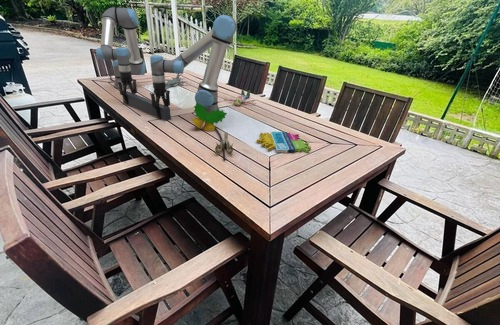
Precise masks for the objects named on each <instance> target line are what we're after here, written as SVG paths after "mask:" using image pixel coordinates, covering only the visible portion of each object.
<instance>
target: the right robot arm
mask: <svg viewBox="0 0 500 325" xmlns="http://www.w3.org/2000/svg"><path fill="white" fill-rule="evenodd" d="M236 32H237V23H236V20H235V19H234V17H232V16H230V15H227V14H221V15H219V16H217V17H216V18H215V19H214V21H213V24H212V28H211V30H210V31H209V32H207V33H205V35H203V36H202V37H201V38H199V39H198V40H197V41H196V42H194V43H193V44H192V45H191V46H189V47H188V48H187V49H186V50H184V51H183V52H181V54H179V55H178V56H176V57H174V59H164V56H162V55H159V54H153V55H150V57H149V61H150V63H149V64H150V70H151V79H152V88H153V91H152V92H150V93H149V95H150V100H152V107H153V108H155V109H156V113H157V117H158V118H157V117H156V118H157V119H160V120H162V119H161V114H160V109H159V103H160V101H161V100H162V103H163V105H165V106H167V107H170V105H171V96H170V92H171V91H170V90H169V89H165V88H166V85H165V84H166V81H165V79H166V75H165V74H176V75H177V74H179V75H180V74H183V73H184V71H185V68H186V67H187V66H189V64H191V63H192V62H193V61H195V60H196V59H198V58H199V57H201V56H202V55H203V54H205V53H206V52H207V51H208V50H209V49H210V50H209V51H210V52H209V55H208V58H207V63H206V66H205V70H204V74H203V78H202V80H201V81H200V82H199V84H198V87H197V90H196V92H195V94H194V101H195V103H196V102H197V103H198V104H201V106H204V109H206V112H208V113H211V112H212V110H214V111H216V110H217V109H219V111H221V110H220V108H219V102H218V99H219V98H218V97H219V90H218V89H219V85H218V80H219V76H220V73H221V70H222V66H223V62H224V59H225V56H226V52H227V49H228V47H229V46H231V44H232V42H233V39H234V38H233V37H234V35H235V33H236ZM208 113H207V115H208ZM214 131H216V133H217V134H218V135H219V139H220V141H222V140H223V137H222V134H221V133H220V131H219V130H218V128H217V126H215V130H214ZM225 152H226V151H225V149H223V151H222V157H223V161H226V153H225Z"/></svg>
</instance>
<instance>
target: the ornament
mask: <svg viewBox="0 0 500 325" xmlns="http://www.w3.org/2000/svg"><path fill="white" fill-rule="evenodd" d="M219 110H220V108H219V109H217V110H216V111H214V110H212V112H211V113H208V112H206V109H204V106H201V104H198V103H197V102H196V101H195V105H194V106H193V112H194V113H195V118H192V119H191V122H192V123H193V125H195V127H197V128H198V129H202V130H203V131H206V132H212V131H213V132H214V131H216V130H215V127H216V126H215V124H218V123H219V122H223V119H226V115H227V114H228V113H227V112H224V110H223V109H221V110H220V111H219ZM207 113H208V115H207ZM214 123H215V124H214Z"/></svg>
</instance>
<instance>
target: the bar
mask: <svg viewBox="0 0 500 325" xmlns="http://www.w3.org/2000/svg"><path fill="white" fill-rule="evenodd" d="M121 96H122V95H121ZM126 96H127V98H128V104H129V105H128V106H129V107H132V108H134V109H136V110H138V111H141V112H143V113H146V114H147V115H150V116H152V117H155V118H157V119H159V118H158V117H157V113H156V109H155V108H153V107H152V100H151V99H149V98H147V97H144V96H142V95H138V94H137V93H136V94H133V93H132V92H131V91H127V90H126ZM122 101H123V104H125V105H127V104H126V102H125V100H124V97H123V96H122ZM159 109H160V114H161V119H160V120H162V121H165V122H166V121H170V120H172V118H171V107H170V106H169V107H167V106H165V105H164V104H162V103H160V102H159Z"/></svg>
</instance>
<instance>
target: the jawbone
mask: <svg viewBox="0 0 500 325" xmlns="http://www.w3.org/2000/svg"><path fill="white" fill-rule="evenodd" d="M223 135H224V136H223V139H222V141H221V140H220V141H221V142H220V144H218V142H215V144H216V146H215V148H214V149H215V152H214V154H215V155H217V156H218V155H220V153H221V152H223V149H224V150H226V152H227V153H228V155H229V156H233V155H234V154H233V153H234V148H233V144H234V143H230V140H228V139H229V138H228V137H229V136H228V135H229V133H228V131H226V132H224V134H223Z"/></svg>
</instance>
